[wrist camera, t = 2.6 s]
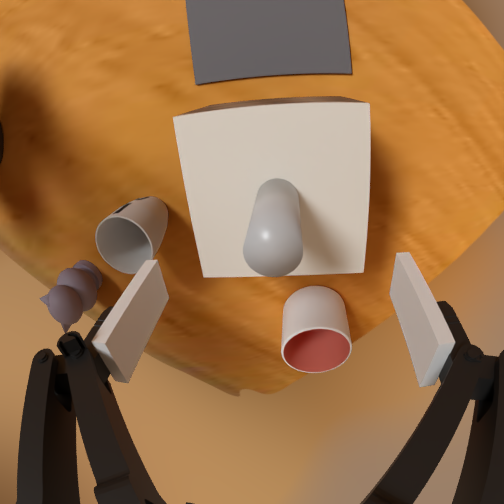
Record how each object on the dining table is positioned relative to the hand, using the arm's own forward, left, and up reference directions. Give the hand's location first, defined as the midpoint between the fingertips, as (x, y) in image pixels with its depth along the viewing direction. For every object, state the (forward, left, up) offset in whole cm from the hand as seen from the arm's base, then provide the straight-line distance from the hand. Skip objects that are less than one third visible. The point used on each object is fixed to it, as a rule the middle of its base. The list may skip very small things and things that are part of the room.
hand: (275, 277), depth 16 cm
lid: (0, 0, -13) cm, 13 cm away
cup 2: (+4, -24, -26) cm, 35 cm away
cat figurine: (-36, -17, -26) cm, 47 cm away
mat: (0, +20, -25) cm, 32 cm away
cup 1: (-19, -6, -26) cm, 32 cm away
